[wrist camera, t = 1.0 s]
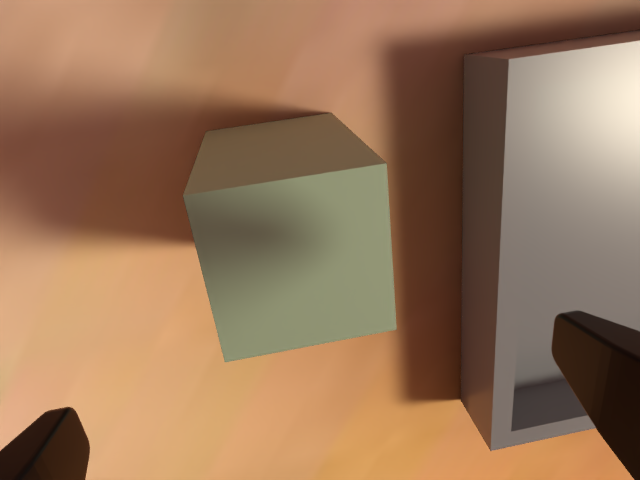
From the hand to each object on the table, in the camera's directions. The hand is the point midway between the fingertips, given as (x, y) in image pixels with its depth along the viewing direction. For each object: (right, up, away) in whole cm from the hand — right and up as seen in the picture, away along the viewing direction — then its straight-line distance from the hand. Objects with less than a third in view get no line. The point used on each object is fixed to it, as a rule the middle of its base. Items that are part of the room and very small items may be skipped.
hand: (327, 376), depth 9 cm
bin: (+14, +3, +14) cm, 21 cm away
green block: (-2, +5, +11) cm, 12 cm away
